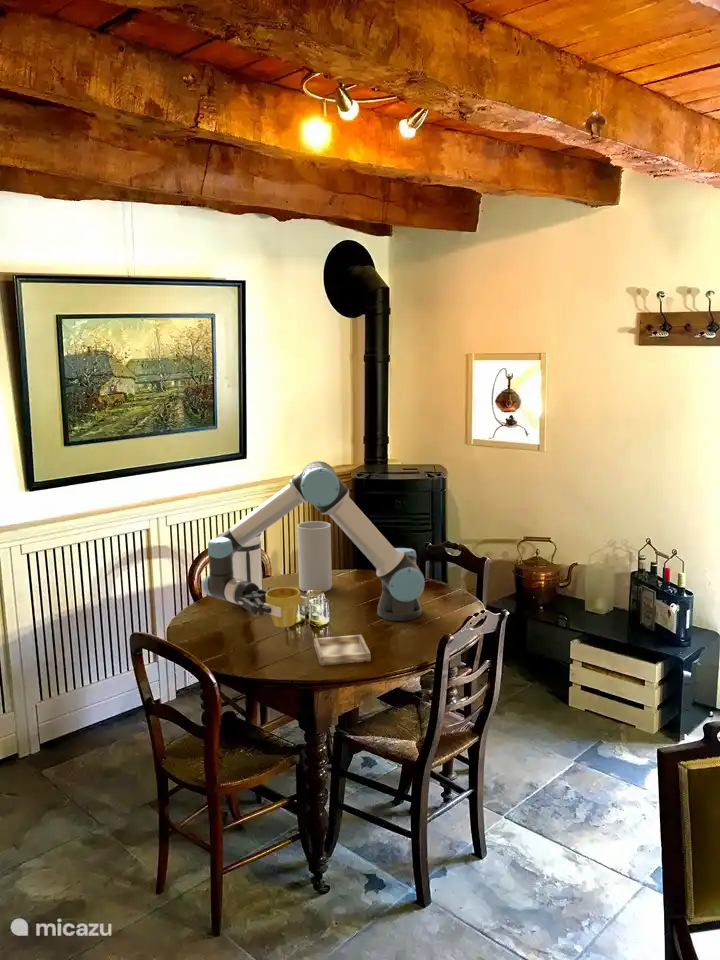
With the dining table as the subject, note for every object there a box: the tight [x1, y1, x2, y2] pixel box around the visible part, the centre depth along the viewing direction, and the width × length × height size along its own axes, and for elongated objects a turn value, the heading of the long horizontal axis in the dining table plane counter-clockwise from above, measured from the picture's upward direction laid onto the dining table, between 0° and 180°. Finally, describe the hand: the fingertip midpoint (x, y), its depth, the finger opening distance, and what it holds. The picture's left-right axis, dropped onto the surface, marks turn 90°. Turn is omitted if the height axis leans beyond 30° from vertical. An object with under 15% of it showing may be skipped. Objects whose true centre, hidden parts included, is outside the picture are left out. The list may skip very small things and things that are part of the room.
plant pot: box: [265, 586, 302, 628], centre depth 230 cm, size 10×10×10 cm
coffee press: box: [227, 518, 264, 590], centre depth 284 cm, size 17×16×30 cm
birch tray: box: [313, 634, 372, 666], centre depth 235 cm, size 15×15×2 cm
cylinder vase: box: [297, 520, 333, 593], centre depth 295 cm, size 12×12×25 cm
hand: (293, 607), depth 228 cm, fingers closed on plant pot, 10 cm apart
